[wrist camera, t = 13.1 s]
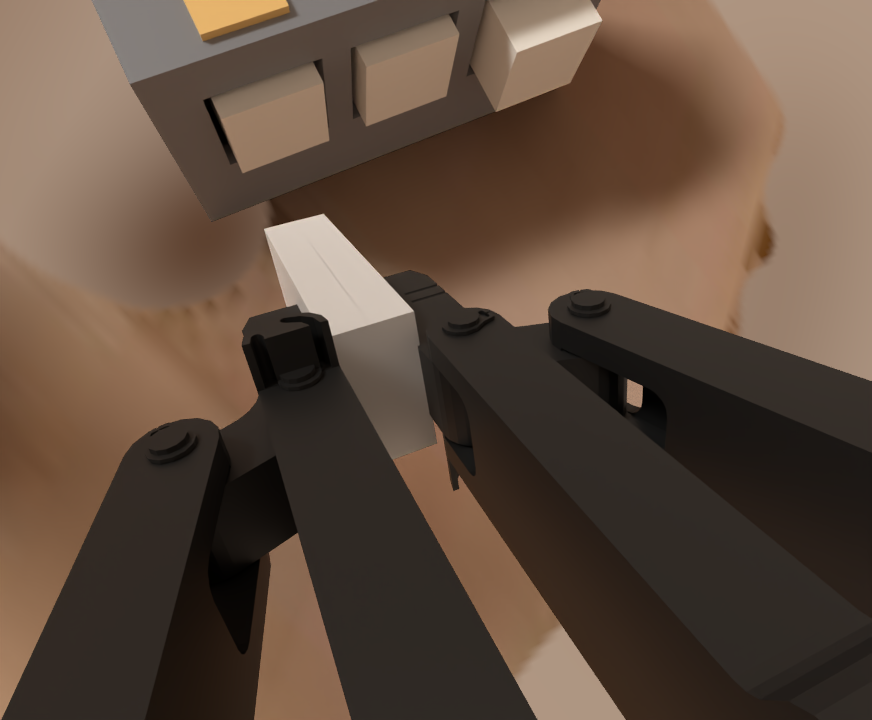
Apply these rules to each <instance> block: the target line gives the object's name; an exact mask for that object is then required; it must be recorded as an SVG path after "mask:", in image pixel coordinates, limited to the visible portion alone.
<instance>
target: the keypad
mask: <svg viewBox="0 0 872 720" xmlns="http://www.w3.org/2000/svg"><path fill="white" fill-rule="evenodd" d="M485 1H487V0H92V2H93V4H94V6H95V8H96V11H97V13H98V15H99V17H100V20H101V22H102V24H103V26H104V28H105V31H106V33H107V35H108V37H109V39H110V41H111V44H112V46H113V48H114V50H115V53H116V54H117V57H118V59H119V61H120V64H121V66H122V68H123V70H124V72H125V74H126V77H127V79H128V81H129V83H130V85H131V87H132V89H133V90H134V92H135V94H136V95H137V97H138V98H139V100H140V102H141V104H142V105H143V107H144V109H145V110H146V112H147V114H148V115H149V117H150V119H151V121H152V122H153V124H154V126H155V127H156V129H157V131H158V132H159V134H160V136H161V137H162V139H163V141H164V142H165V144H166V146H167V147H168V149H169V151H170V153H171V154H172V156H173V157H174V159H175V161H176V163H177V164H178V166H179V167H180V169H181V171H182V172H183V174H184V176H185V178H186V179H187V181H188V183H189V184H190V186H191V188H192V189H193V191H194V193H195V195H196V196H197V198H198V200H199V201H200V203H201V205H202V206H203V208H204V210H205V211H206V213H207V215H208V217H209V218H210V220H211V222H213V221H215V220H218V219H221V218H223V217H226V216H228V215H231V214H233V213H236V212H239V211H241V210H244V209H246V208H249V207H251V206H254V205H256V204H259V203H262V202H264V201H267V200H269V199H272V198H274V197H277V196H280V195H282V194H285V193H287V192H290V191H292V190H295V189H297V188H300V187H303V186H305V185H308V184H310V183H313V182H315V181H318V180H321V179H323V178H326V177H328V176H331V175H333V174H336V173H338V172H341V171H344V170H346V169H349V168H351V167H354V166H356V165H359V164H362V163H364V162H367V161H369V160H372V159H374V158H377V157H379V156H382V155H385V154H387V153H390V152H392V151H395V150H397V149H400V148H403V147H405V146H408V145H410V144H413V143H415V142H418V141H421V140H423V139H426V138H428V137H431V136H433V135H436V134H438V133H441V132H444V131H446V130H449V129H451V128H454V127H456V126H459V125H462V124H464V123H467V122H469V121H472V120H474V119H477V118H479V117H482V116H485V115H487V114H490V113H492V112H495V110H494V108H493V106H492V104H491V102H490V100H489V99H488V97H487V95H486V93H485V91H484V89H483V87H482V86H481V84H480V82H479V80H478V78H477V76H476V74H475V73H474V71H473V69H472V67H471V65H470V60H471V56H472V52H473V48H474V44H475V40H476V36H477V32H478V28H479V24H480V20H481V16H482V12H483V8H484V4H485ZM591 2H592V4H593V5H594V7H595V9H597V7H598V4H599V2H600V0H591ZM447 14H449V15H450V17H451V19H452V21H453V23H454V24H455V26H456V28H457V30H458V32H459V39H458V43H457V48H456V53H455V57H454V62H453V67H452V72H451V76H450V81H449V86H448V90H447V95H446V97H443V98H440V99H438V100H435V101H432V102H430V103H427V104H424V105H422V106H419V107H417V108H414V109H411V110H409V111H406V112H403V113H401V114H398V115H395V116H393V117H390V118H387V119H385V120H382V121H380V122H377V123H374V124H372V125H369V126H366V125H365V123H364V121H363V119H362V117H361V115H360V113H359V111H358V109H357V107H356V105H355V103H354V102H353V100H352V74H351V48H353V47H356V46H359V45H361V44H364V43H367V42H370V41H373V40H376V39H379V38H381V37H384V36H387V35H390V34H393V33H396V32H399V31H401V30H404V29H407V28H410V27H413V26H416V25H418V24H421V23H424V22H427V21H430V20H433V19H436V18H438V17H441V16H444V15H447ZM310 62H313V63H314V65H315V67H316V69H317V71H318V73H319V75H320V77H321V79H322V81H323V84H324V94H325V104H326V113H327V123H328V132H329V141H327V142H324V143H321V144H319V145H316V146H313V147H311V148H308V149H306V150H303V151H300V152H298V153H295V154H292V155H290V156H287V157H284V158H282V159H279V160H276V161H274V162H271V163H269V164H266V165H263V166H261V167H258V168H255V169H253V170H250V171H247V172H245V173H242V171H241V169H240V167H239V164H238V162H237V160H236V158H235V156H234V154H233V152H232V150H231V147H230V145H229V143H228V141H227V139H226V137H225V135H224V133H223V131H222V128H221V126H220V124H219V122H218V120H217V118H216V116H215V114H214V111H213V109H212V106H211V104H210V102H209V99H208V98H210V97H213V96H216V95H219V94H222V93H225V92H227V91H230V90H233V89H236V88H239V87H242V86H244V85H247V84H250V83H253V82H256V81H259V80H262V79H264V78H267V77H270V76H273V75H276V74H279V73H282V72H284V71H287V70H290V69H293V68H296V67H299V66H302V65H304V64H307V63H310Z"/></svg>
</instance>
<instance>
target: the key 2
mask: <svg viewBox="0 0 872 720" xmlns="http://www.w3.org/2000/svg"><path fill="white" fill-rule="evenodd" d="M601 22H602V19H601V17H600V16H599V14H598V12H597V11H596V9H595V7H594V5H593V4H592V2H591V0H487V1H485V4H484V8H483V12H482V16H481V20H480V24H479V28H478V32H477V36H476V40H475V44H474V48H473V52H472V56H471V60H470V65H471V67H472V69H473V71H474V73H475V74H476V76H477V78H478V80H479V82H480V84H481V86H482V87H483V89H484V91H485V93H486V95H487V97H488V99H489V100H490V102H491V104H492V106H493V108H494V110H495V112H497V111H500V110H502V109H505V108H508V107H510V106H513V105H515V104H518V103H520V102H523V101H526V100H528V99H531V98H533V97H536V96H538V95H541V94H543V93H546V92H549V91H551V90H554V89H556V88H559V87H561V86H564V85H567V84H569V83H570V82H571V80H572V78H573V77H574V75H575V73H576V71H577V69H578V67H579V65H580V63H581V61H582V59H583V57H584V55H585V53H586V51H587V49H588V48H589V46H590V44H591V42H592V40H593V38H594V36H595V34H596V32H597V30H598V28H599V26H600V24H601Z"/></svg>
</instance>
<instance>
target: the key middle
mask: <svg viewBox="0 0 872 720" xmlns="http://www.w3.org/2000/svg"><path fill="white" fill-rule="evenodd" d="M458 39H459V32H458V30H457V28H456V26H455V24H454V23H453V21H452V19H451V17H450V15H449V14H447V15H444V16H441V17H438V18H436V19H433V20H430V21H427V22H424V23H421V24H418V25H416V26H413V27H410V28H407V29H404V30H401V31H399V32H396V33H393V34H390V35H387V36H384V37H381V38H379V39H376V40H373V41H370V42H367V43H364V44H361V45H359V46H356V47H353V48H351V74H352V100H353V102H354V103H355V105H356V107H357V109H358V111H359V113H360V115H361V117H362V119H363V121H364V123H365V125H366V126H369V125H372V124H374V123H377V122H380V121H382V120H385V119H387V118H390V117H393V116H395V115H398V114H401V113H403V112H406V111H409V110H411V109H414V108H417V107H419V106H422V105H424V104H427V103H430V102H432V101H435V100H438V99H440V98H443V97H446V95H447V90H448V86H449V81H450V76H451V72H452V67H453V62H454V57H455V53H456V48H457V43H458Z"/></svg>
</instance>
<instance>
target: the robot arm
mask: <svg viewBox="0 0 872 720" xmlns="http://www.w3.org/2000/svg"><path fill="white" fill-rule="evenodd" d="M264 231H265V234H266V238H267V241H268V245H269V248H270V251H271V255H272V258H273V262H274V265H275V268H276V272H277V275H278V279H279V282H280V286H281V289H282V292H283V296H284V299H285V303H286V306H287V307H286V308H282V309H279V310H275V311H272V312H268V313H265V314H261V315H258V316H254V317H251V318H249V320H248V321H247V323H246V325H245V327H244V329H243V330H242V332H243V335H244V337H243V341H242V348H243V351H244V354H245V357H246V360H247V362H248V365H249V368H250V371H251V374H252V377H253V380H254V383H255V385H256V388H257V391H258V395H259V396H258V399H257V401H256V403H255V404H254V406H253V407H252V408H251V409H250V411H248V412H247V413H246V414H245V415H244V416H243V417H241V418H240V419H238V420H237V421H235V422H233V423H232V424H230V425H228V426H227V427H225V428H223V429H221V430H219V428H218V427H217V426H216V425H215V424H214V423H213V422H211V421H209V420H204V419H199V418H194V419H183V420H179V421H175V422H172V423H166V424H164V425H161V426H159V427H158V428H157V429H156V428H155V429H153V430H151V431H149V432H148V433H147V434H145V435H144V436H143V437H142V438H140V439H139V440H138V441H136V442H135V443H134V444H133V445H132V446H131V447H130V449H129V450H128V451H127V453H126V454H125V455H124V457H123V459H122V461H121V463H120V466H119V468H118V470H117V472H116V474H115V476H114V478H113V481H112V483H111V485H110V487H109V489H108V491H107V494H106V496H105V498H104V500H103V502H102V504H101V506H100V509H99V511H98V513H97V515H96V517H95V519H94V522H93V524H92V526H91V528H90V530H89V532H88V534H87V537H86V539H85V541H84V543H83V545H82V547H81V550H80V552H79V554H78V556H77V558H76V560H75V562H74V565H73V567H72V569H71V571H70V573H69V575H68V578H67V580H66V582H65V584H64V586H63V588H62V590H61V593H60V595H59V597H58V599H57V601H56V603H55V606H54V608H53V610H52V612H51V614H50V616H49V618H48V621H47V623H46V625H45V627H44V629H43V631H42V633H41V636H40V638H39V640H38V642H37V644H36V646H35V649H34V651H33V653H32V655H31V657H30V659H29V661H28V664H27V666H26V668H25V670H24V672H23V674H22V677H21V679H20V681H19V683H18V685H17V687H16V689H15V692H14V694H13V696H12V698H11V700H10V702H9V705H8V707H7V709H6V711H5V713H4V715H3V717H2V720H254V714H255V705H256V696H257V687H258V678H259V669H260V659H261V650H262V641H263V632H264V623H265V614H266V605H267V595H268V586H269V577H270V568H271V563H270V557H269V553H268V552H270V551H271V550H273V549H274V548H276V547H277V546H279V545H280V544H282V543H283V542H285V541H286V540H288V539H289V538H291V537H292V536H293V535H295V534H296V533H298V534H299V538H300V541H301V545H302V548H303V552H304V555H305V559H306V562H307V566H308V569H309V573H310V576H311V580H312V583H313V587H314V590H315V594H316V597H317V601H318V604H319V608H320V611H321V615H322V618H323V622H324V625H325V629H326V632H327V636H328V639H329V643H330V646H331V650H332V653H333V657H334V660H335V664H336V667H337V671H338V674H339V678H340V681H341V685H342V688H343V692H344V695H345V699H346V702H347V706H348V709H349V713H350V716H351V720H537V718H536V716H535V715H534V713H533V711H532V710H531V708H530V706H529V704H528V702H527V700H526V699H525V697H524V695H523V693H522V691H521V690H520V688H519V686H518V684H517V682H516V681H515V679H514V677H513V675H512V673H511V672H510V670H509V668H508V666H507V664H506V663H505V661H504V659H503V657H502V656H501V654H500V652H499V650H498V648H497V647H496V645H495V643H494V641H493V639H492V638H491V636H490V634H489V632H488V630H487V629H486V627H485V625H484V623H483V621H482V620H481V618H480V616H479V614H478V613H477V611H476V609H475V607H474V605H473V604H472V602H471V600H470V598H469V596H468V595H467V593H466V591H465V589H464V587H463V586H462V584H461V582H460V580H459V578H458V577H457V575H456V573H455V571H454V570H453V568H452V566H451V564H450V562H449V561H448V559H447V557H446V555H445V553H444V552H443V550H442V548H441V546H440V544H439V543H438V541H437V539H436V537H435V535H434V534H433V532H432V530H431V528H430V527H429V525H428V523H427V521H426V519H425V518H424V516H423V514H422V512H421V510H420V509H419V507H418V505H417V503H416V501H415V500H414V498H413V496H412V494H411V492H410V491H409V489H408V487H407V485H406V484H405V482H404V480H403V478H402V476H401V475H400V473H399V471H398V469H397V467H396V466H395V464H394V462H393V459H396V458H399V457H401V456H404V455H407V454H409V453H412V452H415V451H418V450H420V449H423V448H426V447H428V446H431V445H434V444H437V440H436V434H435V429H434V423H433V420H434V421H435V423H436V424H437V425H438V427H439V428H440V430H441V431H442V432H443V438H444V444H445V450H446V456H447V462H448V468H449V474H450V480H451V484H452V488H453V491H455V490H457V489H459V485H458V477H459V475H460V477H461V478H462V480H463V481H464V483H465V484H466V485H467V487H468V488H469V490H470V491H471V493H472V494H473V496H474V497H475V499H476V500H477V502H478V503H479V505H480V506H481V508H482V509H483V510H484V512H485V513H486V515H487V516H488V518H489V519H490V521H491V522H492V524H493V525H494V527H495V528H496V530H497V531H498V532H499V534H500V535H501V537H502V538H503V540H504V541H505V543H506V544H507V546H508V547H509V549H510V550H511V552H512V553H513V555H514V556H515V557H516V559H517V560H518V562H519V563H520V565H521V566H522V568H523V569H524V571H525V572H526V574H527V575H528V577H529V578H530V579H531V581H532V582H533V584H534V585H535V587H536V588H537V590H538V591H539V593H540V594H541V596H542V597H543V599H544V600H545V602H546V603H547V604H548V606H549V607H550V609H551V610H552V612H553V613H554V615H555V616H556V618H557V619H558V621H559V622H560V624H561V625H562V626H563V628H564V629H565V631H566V632H567V634H568V635H569V637H570V638H571V639H572V641H573V642H574V644H575V646H576V647H577V649H578V650H579V651H580V653H581V654H582V656H583V657H584V659H585V660H586V662H587V663H588V665H589V666H590V668H591V669H592V670H593V672H594V673H595V675H596V676H597V678H598V679H599V681H600V682H601V684H602V685H603V687H604V688H605V690H606V691H607V692H608V694H609V695H610V697H611V698H612V700H613V701H614V703H615V704H616V706H617V707H618V709H619V710H620V712H621V713H622V715H623V716H624V718H625V719H626V720H872V381H869V380H866V379H863V378H860V377H857V376H854V375H851V374H849V373H845V372H843V371H840V370H837V369H834V368H830V367H828V366H825V365H822V364H819V363H816V362H813V361H810V360H808V359H805V358H802V357H798V356H796V355H793V354H790V353H787V352H784V351H781V350H778V349H775V348H772V347H769V346H766V345H764V344H761V343H758V342H755V341H752V340H749V339H746V338H743V337H740V336H737V335H734V334H731V333H728V332H726V331H723V330H720V329H717V328H714V327H711V326H708V325H705V324H702V323H699V322H696V321H693V320H690V319H688V318H685V317H682V316H679V315H676V314H673V313H670V312H667V311H664V310H661V309H658V308H655V307H652V306H649V305H647V304H644V303H641V302H638V301H635V300H632V299H629V298H626V297H623V296H620V295H617V294H614V293H609V292H605V291H593V290H590V289H585V290H580V291H579V290H577V291H573V292H570V293H568V294H566V295H563V296H560V297H558V298H557V299H555V300H554V301H553V302H551V304H550V306H549V309H548V316H549V323H544V324H536V325H529V326H521V327H514V326H512V325H511V324H510V323H509V322H508V321H506V320H505V319H504V318H503V317H502V316H500V315H499V314H497V313H495V312H493V311H491V310H488V309H482V308H464V307H462V306H461V305H460V304H459V303H458V302H457V301H456V300H455V299H453V298H452V297H451V296H450V295H449V294H448V293H445V291H444V290H443V289H442V288H441V287H440V286H437V284H436V283H435V282H434V281H433V280H432V279H431V278H430V277H429V276H427V275H425V274H421V273H418V272H414V271H411V270H409V271H405V272H402V273H398V274H395V275H391V276H388V277H384V278H383V277H382V276H381V275H380V274H379V273H378V272H377V271H376V270H375V269H374V268H373V267H372V265H371V264H370V263H369V262H368V261H367V260H366V259H365V258H364V257H363V256H362V255H361V254H360V253H359V251H358V250H357V249H356V248H355V247H354V246H353V245H352V244H351V243H350V242H349V241H348V240H347V239H346V238H345V236H344V235H343V234H342V233H341V232H340V231H339V230H338V229H337V228H336V227H335V226H334V225H333V224H332V222H331V221H330V220H329V219H328V218H327V217H326V216H325V215H324V214H321V215H317V216H313V217H309V218H305V219H301V220H297V221H293V222H289V223H285V224H281V225H277V226H273V227H269V228H265V229H264ZM627 379H629V380H631V381H633V382H636V383H638V384H640V385H642V386H643V398H642V406H641V407H640V408H639V407H636V406H633V405H631V404H629V403H627Z"/></svg>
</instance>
